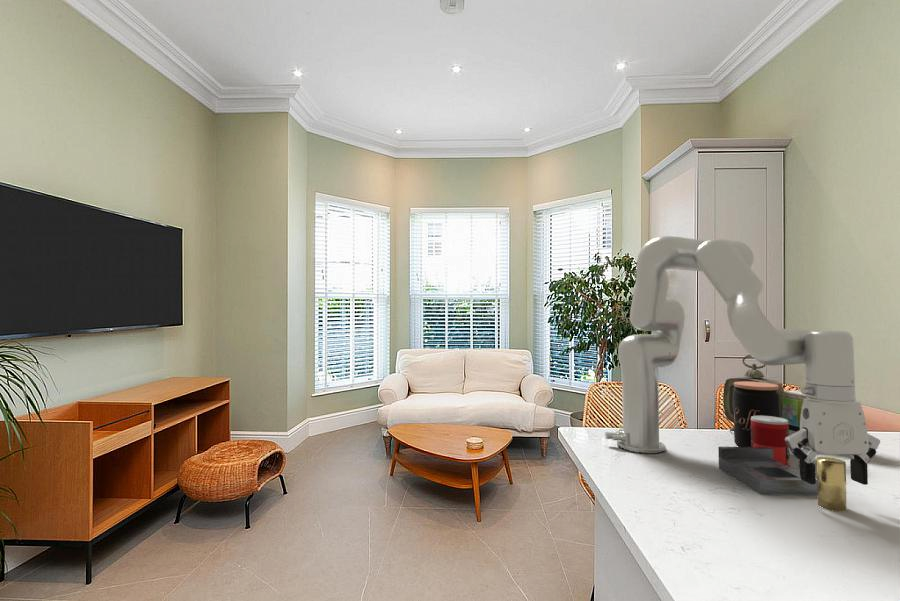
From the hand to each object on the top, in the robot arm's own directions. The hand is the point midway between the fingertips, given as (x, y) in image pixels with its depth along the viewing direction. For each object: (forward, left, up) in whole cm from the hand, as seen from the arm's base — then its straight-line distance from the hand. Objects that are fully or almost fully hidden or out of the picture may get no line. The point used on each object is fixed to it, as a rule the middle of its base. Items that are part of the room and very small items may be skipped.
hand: (833, 482), depth 91 cm
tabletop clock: (+18, +54, -5) cm, 57 cm away
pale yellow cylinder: (0, 0, -5) cm, 5 cm away
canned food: (+6, +28, -5) cm, 29 cm away
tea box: (+29, +44, -5) cm, 53 cm away
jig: (-4, +14, -5) cm, 16 cm away
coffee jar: (+10, +40, -5) cm, 42 cm away
